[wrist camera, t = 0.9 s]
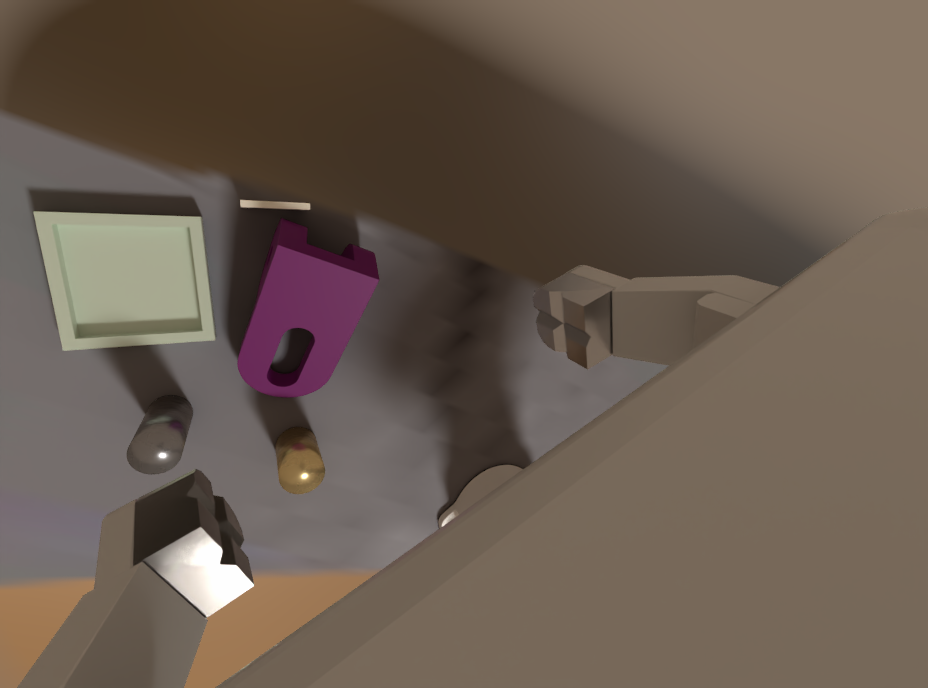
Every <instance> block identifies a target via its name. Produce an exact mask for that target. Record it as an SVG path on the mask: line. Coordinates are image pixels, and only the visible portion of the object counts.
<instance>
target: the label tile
mask: <svg viewBox="0 0 928 688" xmlns="http://www.w3.org/2000/svg"><path fill="white" fill-rule="evenodd" d="M240 206H241V208H259V209H279V210H310V203H295V202H274V201H253V200H240Z"/></svg>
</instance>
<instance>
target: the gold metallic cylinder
mask: <svg viewBox="0 0 928 688" xmlns="http://www.w3.org/2000/svg"><path fill="white" fill-rule="evenodd" d="M275 448H276V457H277V466H278V474H279V482H280V484H281V486H282V487H283V489H285V490H286V491H287V492H289V493H293V494H304V493H307V492H310V491H312V490H313V489H315V488H316V487H317V486H318V485H319V484H320V483H321V482H322V480H323V478H324V475H325V467H324V464H323V461H322V457H321V454H320V451H319V447H318V444H317V441H316V437H315V435H314V434H313V433H312V431H310V430H309V429H307V428H304V427H293V428H290V429H288V430H286V431H284V432H283V433H282V434H281V435H280V436H279V437H278V439H277V441H276V446H275Z"/></svg>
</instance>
